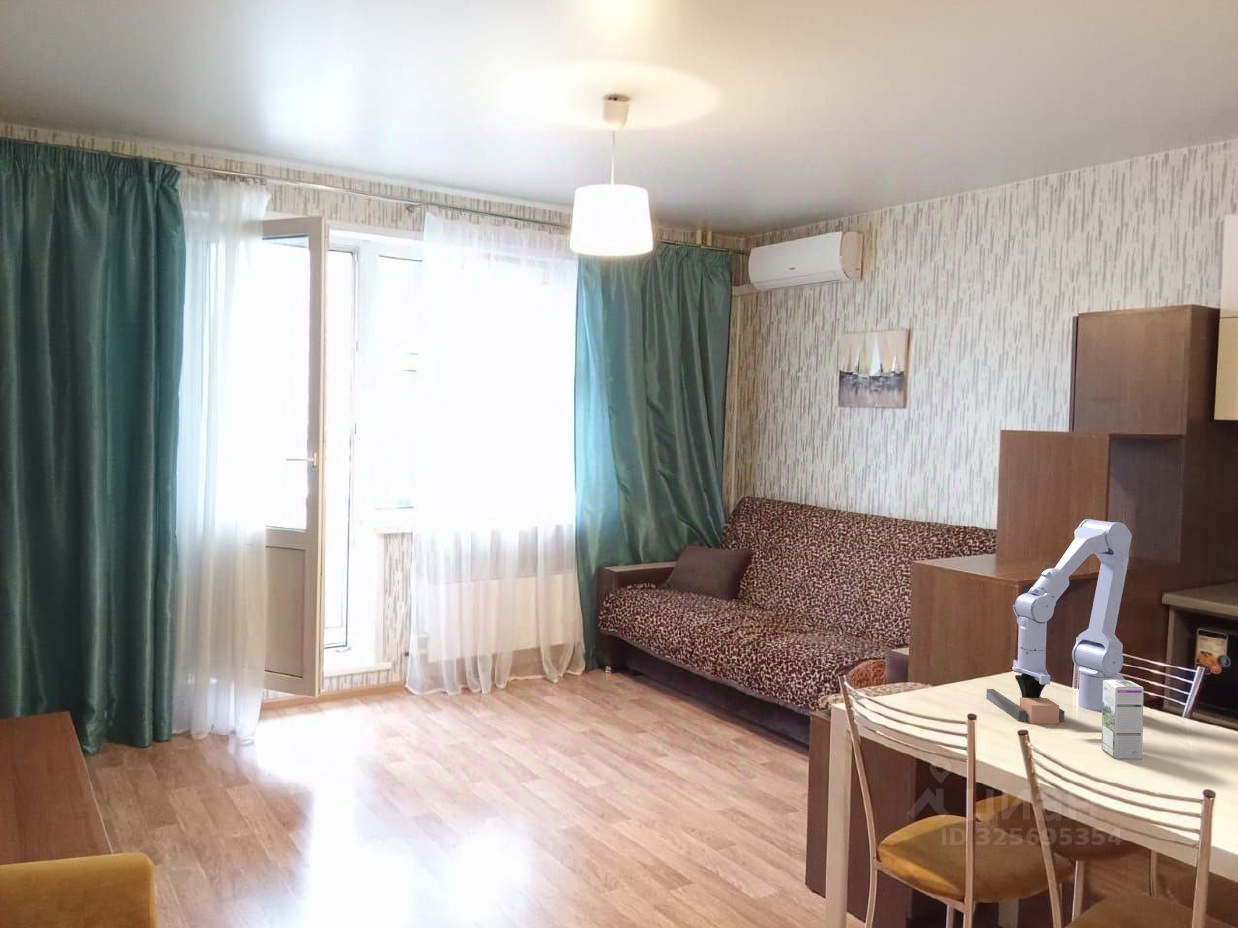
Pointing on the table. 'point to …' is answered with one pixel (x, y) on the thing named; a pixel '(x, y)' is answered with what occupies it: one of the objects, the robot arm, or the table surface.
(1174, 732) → the table surface
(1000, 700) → the grey parallel rails
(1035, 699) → the terracotta block
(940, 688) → the table surface
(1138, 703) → the syrup box
